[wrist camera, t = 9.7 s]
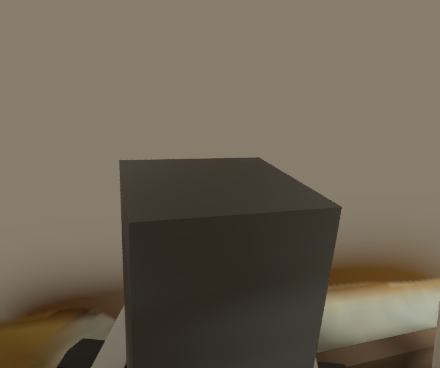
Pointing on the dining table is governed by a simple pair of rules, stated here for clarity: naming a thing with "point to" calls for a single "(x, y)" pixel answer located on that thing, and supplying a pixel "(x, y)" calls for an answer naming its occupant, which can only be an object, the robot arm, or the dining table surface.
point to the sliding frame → (234, 270)
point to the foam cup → (437, 345)
